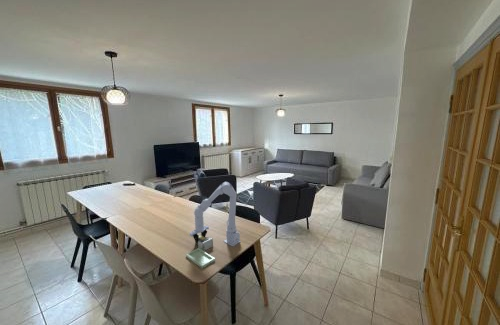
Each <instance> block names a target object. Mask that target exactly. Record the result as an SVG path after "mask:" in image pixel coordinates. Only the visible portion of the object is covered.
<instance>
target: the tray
mask: <svg viewBox="0 0 500 325" xmlns="http://www.w3.org/2000/svg"><path fill="white" fill-rule="evenodd" d="M185 257H186V258H187V259H188V260H190V261H192V263H194V264H195V265H196V266H198V267H199V268H200V269H204V268H206V267H208V266H209V265H211V264H212V263H214V262H216V258H215V257H214V256H212V255H211V254H209V253H207V252H206V250H205V251H203V250H202V249H200V248H195V249H194V250H192V251H190V252H188V253H186V254H185Z"/></svg>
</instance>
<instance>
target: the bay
mask: <svg viewBox="0 0 500 325" xmlns="http://www.w3.org/2000/svg"><path fill="white" fill-rule="evenodd" d="M205 237H206V238H208V240H206V241H204V242H200V241H198V245H197V247H198V248H200V249H202V250H203V251H205V252H206V251H207V250H209V249H210V248H212V247H214V238H213V237H211V238H210V237H208V236H205Z"/></svg>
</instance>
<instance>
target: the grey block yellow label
mask: <svg viewBox="0 0 500 325" xmlns="http://www.w3.org/2000/svg"><path fill="white" fill-rule="evenodd" d="M198 236H199V238H198V241H200V242H204V241H206V240H208V238H206V237H207V236H203V235H201V233H199V234H198ZM194 242H195V241H194ZM194 244H195V245H197V246H198V244H196V242H195V243H194Z"/></svg>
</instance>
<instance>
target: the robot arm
mask: <svg viewBox="0 0 500 325" xmlns="http://www.w3.org/2000/svg"><path fill="white" fill-rule="evenodd" d="M223 194H225V195H227V196H228V197H229V203H228V204H229V207H228V208H229V209H228V219H227V220H226V225H227V226H226V230H225V231H226V239H224V241H223V242H224V243H226V244H227V245H230V246H231V247H234V246H236V245H238V244H240V243H241V240H240V236H241V235H240V233H239V231H238V229H237V226H236V208H237V198H238V197H237V196H238V195H237V192H236V190H235V189H234V187H233V185H232V183H230V182H228V181H224V182H222V183H221V184H219V186H218V187H216V189H215V190H214V191H213V192H212V194H211V195H210V196H208V198H204V199H203V200H202V201H201V203H200V204H198V205H197V207H195V209H194V212H193V214H194V228H195V229H194V230H193V231H191V232H189V237H192V238H193V239H194V242H196V244H195V245H197V244H198V238H199V236H198V235H199V234H201V235H203V236H205V237H207V234H208V230H209V226H208V225H205V226H204V224H205V223H204V212H206V211H207V210H208V208H210V207H211V206H212V202H213V201H214V200H215V199H216V198H217V197H218V196H219V195H220V196H221V195H223Z"/></svg>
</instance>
